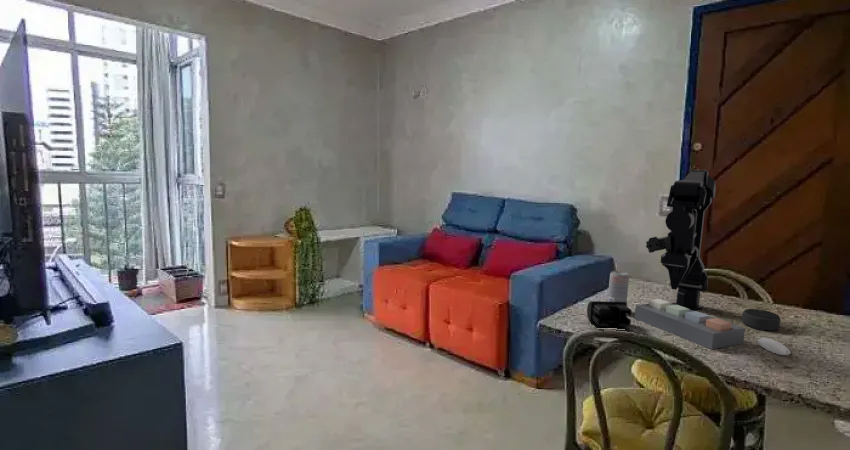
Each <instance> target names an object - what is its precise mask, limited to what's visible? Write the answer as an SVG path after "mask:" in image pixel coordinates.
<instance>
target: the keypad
mask: <svg viewBox="0 0 850 450" xmlns="http://www.w3.org/2000/svg"><path fill="white" fill-rule="evenodd" d="M670 303H671V302H670ZM672 303H673V302H672ZM672 303H671V304H670V306H671V305H675V304H672ZM634 310H635V311H634V319H635V320H637V321H640V322H642V323H645V324H647V325H650V326H652V327H655V328H657V329H660V330H662V331H665V332H667V333H669V334H673V335H675V336H677V337H679V338H682V339H684V340H686V341H687V340H688V341H690V342H693V343H695V344H697V345H700V346H703V347H705V348H707V349H710V350H715V349H720V348H724V347H725V348H726V347H730V346H734V345H735V346H736V345H741V344H744V340H745V331H746V328H745V327H743V326H740V325H737V324H734V323H732V325H731V330H726V331H718V330H716V329H713V328H710V327H707V326H706V323H700V324H699V323H696V322H693V321H690V320H688V319H685V316H676V315H674V314H671V313H668V312H666V309H662V310H660V309H657V308H654V307H651V306H649V303H643V304H635V309H634ZM693 311H694V310H690V309H689V312H693ZM714 318H715V317H713V316H710V315H709V319H714Z"/></svg>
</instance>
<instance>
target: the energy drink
mask: <svg viewBox="0 0 850 450" xmlns="http://www.w3.org/2000/svg"><path fill="white" fill-rule="evenodd" d="M629 278H630V276H629V273H628V272H625V271H620V270H613V271H610V274H609V283H608V296H607V302H627V303H628V292H629Z"/></svg>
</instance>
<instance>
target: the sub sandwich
mask: <svg viewBox="0 0 850 450" xmlns="http://www.w3.org/2000/svg"><path fill="white" fill-rule="evenodd" d="M756 342H757V344H758V345H759V346H760V347H762V348H763V349H764V348H765V350H766V351H769V352H770V351H771V352H770V353H773V354H775V353H776V354H775V355H779V356H787V355H790V354H791V351H790V349H788V347H787V346H785V345H784V344H782V343H781V342H779V341H777V340H774V339H770V338H766V337H760V338H757V339H756Z"/></svg>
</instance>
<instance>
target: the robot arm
mask: <svg viewBox="0 0 850 450" xmlns="http://www.w3.org/2000/svg"><path fill="white" fill-rule="evenodd" d="M716 187H717V186H716V180H715V179H714V178H712V177H711V176H710V175H709V171H708V170H706V169H690V170H688V171H687V175H686V177H685V178H684V179H681V180H676V181H674V182H673V184H671V186H670V190H669V194H668V198H667V202H666V207H667V208H672V211H671V212H669V213H668V214H667V215H666V218H665V220H664V221H665V226H666V228H667V229H668V230H669V232H668V233H667V236H663V237H657V236H653V237H649V238H648V240H646V241H645V243H646V245H645V248H646V249H647V250H648V254H649V253H650V254H651V253H655V252H658V251H663V250H665V252H664V253H663V254H661V255H660V263H661V265H662V266H663V267H665V268H666V269H667V272H668V276H669V282H670V287H671V290H674V291H675V290H677V293H676V302H672V304H675V305H679V306H682V307H685V308H688V309H690V310H693V311H695V310H701V309H704V306H703V305H700V301H701V300H700V298H701V292H704V291H705V292H708V285H709V277H708V276H707V272H706V271H705V265H704V264H705V263H704V262H703V261H702V258H701V247H702V239H703V232H704V230H703V229H704V221H705V212H706V210H707V209H708V208H709V207H710V205H711V204H712V202H713V199H715V197H716V191H717V190H716Z"/></svg>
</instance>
